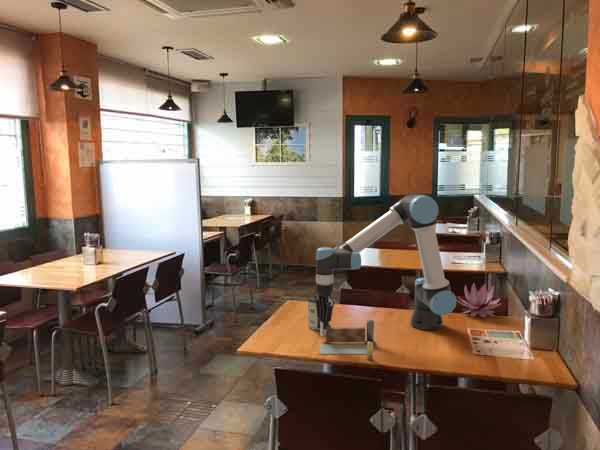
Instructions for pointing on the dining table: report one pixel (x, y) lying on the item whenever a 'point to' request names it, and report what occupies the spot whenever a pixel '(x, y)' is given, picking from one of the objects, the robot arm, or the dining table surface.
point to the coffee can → (313, 314)
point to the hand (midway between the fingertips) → (323, 335)
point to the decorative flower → (479, 301)
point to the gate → (345, 334)
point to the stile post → (369, 350)
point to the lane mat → (342, 349)
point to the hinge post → (370, 332)
